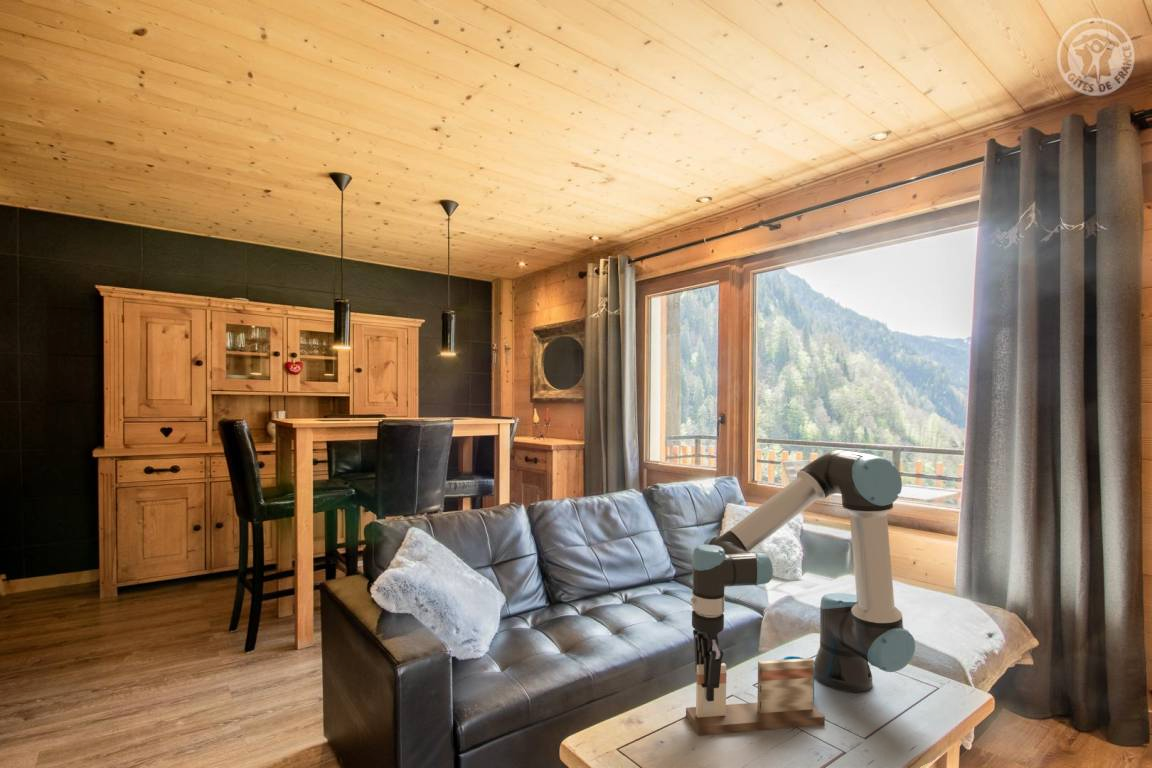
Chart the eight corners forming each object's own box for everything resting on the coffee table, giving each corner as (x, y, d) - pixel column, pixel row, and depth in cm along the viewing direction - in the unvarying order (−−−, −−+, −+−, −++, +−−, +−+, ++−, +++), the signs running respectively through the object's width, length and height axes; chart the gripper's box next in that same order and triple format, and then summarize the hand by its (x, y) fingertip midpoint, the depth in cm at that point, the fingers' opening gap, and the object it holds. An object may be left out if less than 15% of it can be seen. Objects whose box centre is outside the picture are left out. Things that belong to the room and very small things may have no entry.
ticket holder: (806, 706, 146) (807, 651, 146) (824, 725, 139) (825, 666, 139) (685, 715, 141) (686, 658, 141) (697, 735, 134) (698, 675, 134)
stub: (723, 712, 139) (724, 662, 139) (725, 715, 138) (726, 665, 138) (695, 714, 138) (696, 664, 138) (697, 717, 137) (698, 667, 137)
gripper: (682, 601, 145) (681, 695, 145) (704, 624, 130) (702, 728, 130) (711, 599, 146) (709, 693, 146) (735, 623, 132) (734, 726, 132)
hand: (706, 709), depth 138 cm, fingers closed on stub
